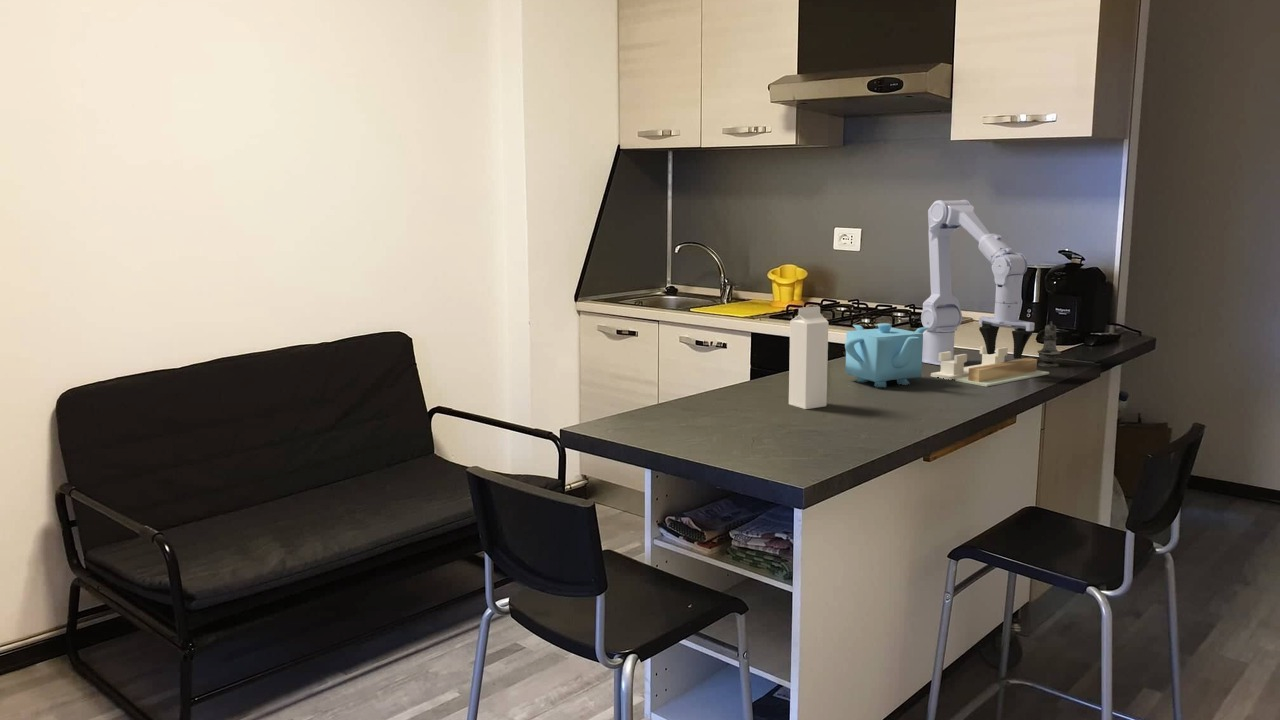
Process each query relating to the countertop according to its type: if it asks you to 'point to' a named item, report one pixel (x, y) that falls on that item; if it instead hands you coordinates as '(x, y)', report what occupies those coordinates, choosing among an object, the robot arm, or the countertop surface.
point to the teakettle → (884, 354)
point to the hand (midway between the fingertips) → (1003, 356)
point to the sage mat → (1004, 378)
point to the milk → (808, 359)
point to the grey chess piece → (1049, 347)
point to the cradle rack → (956, 366)
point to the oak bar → (1002, 369)
